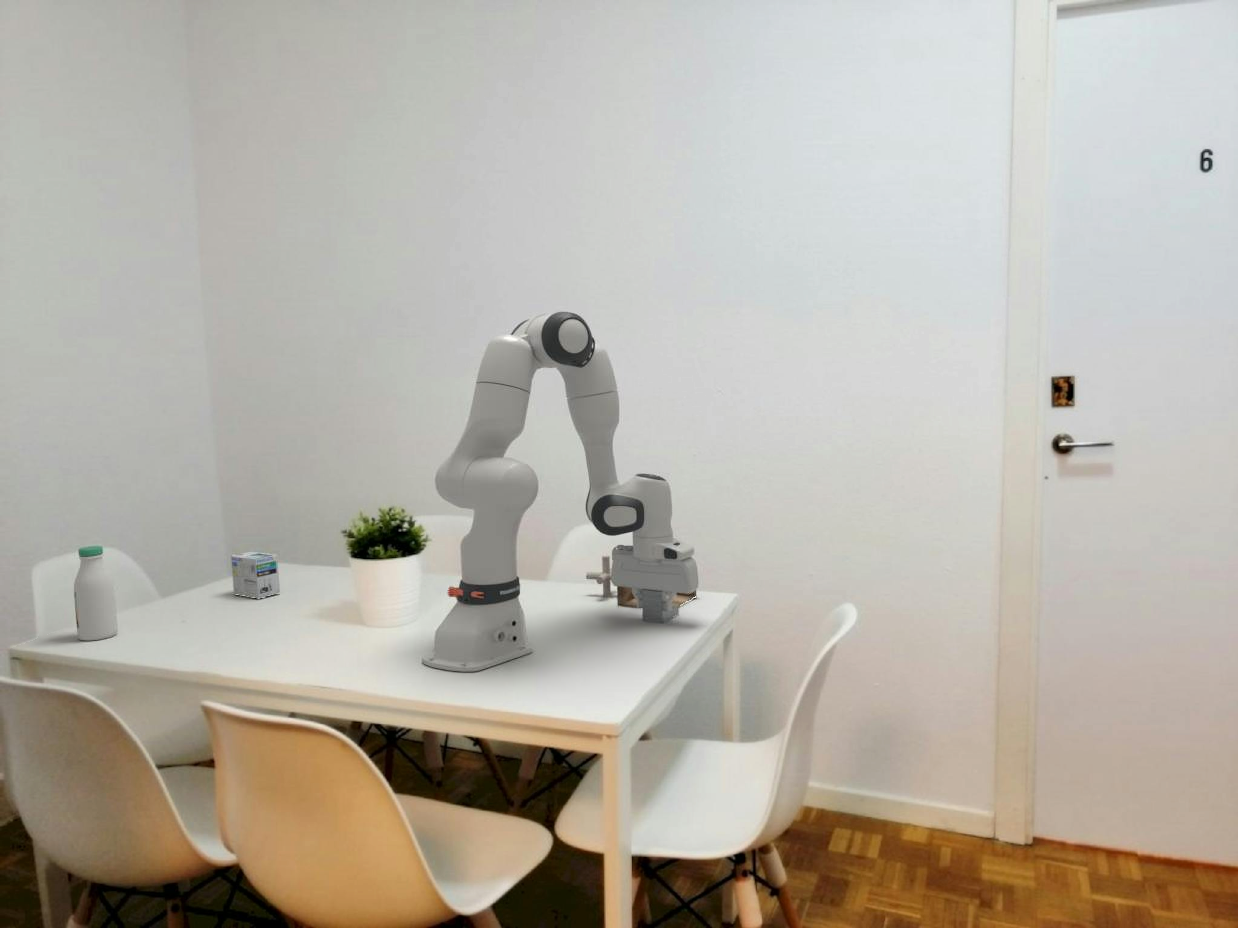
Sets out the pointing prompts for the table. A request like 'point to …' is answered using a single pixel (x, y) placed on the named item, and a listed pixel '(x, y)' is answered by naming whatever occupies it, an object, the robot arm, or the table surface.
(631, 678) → the table surface
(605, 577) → the pipe connector
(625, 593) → the wooden corner tray
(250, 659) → the table surface
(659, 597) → the bracket
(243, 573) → the light bulb box
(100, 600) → the milk bottle
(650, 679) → the table surface
